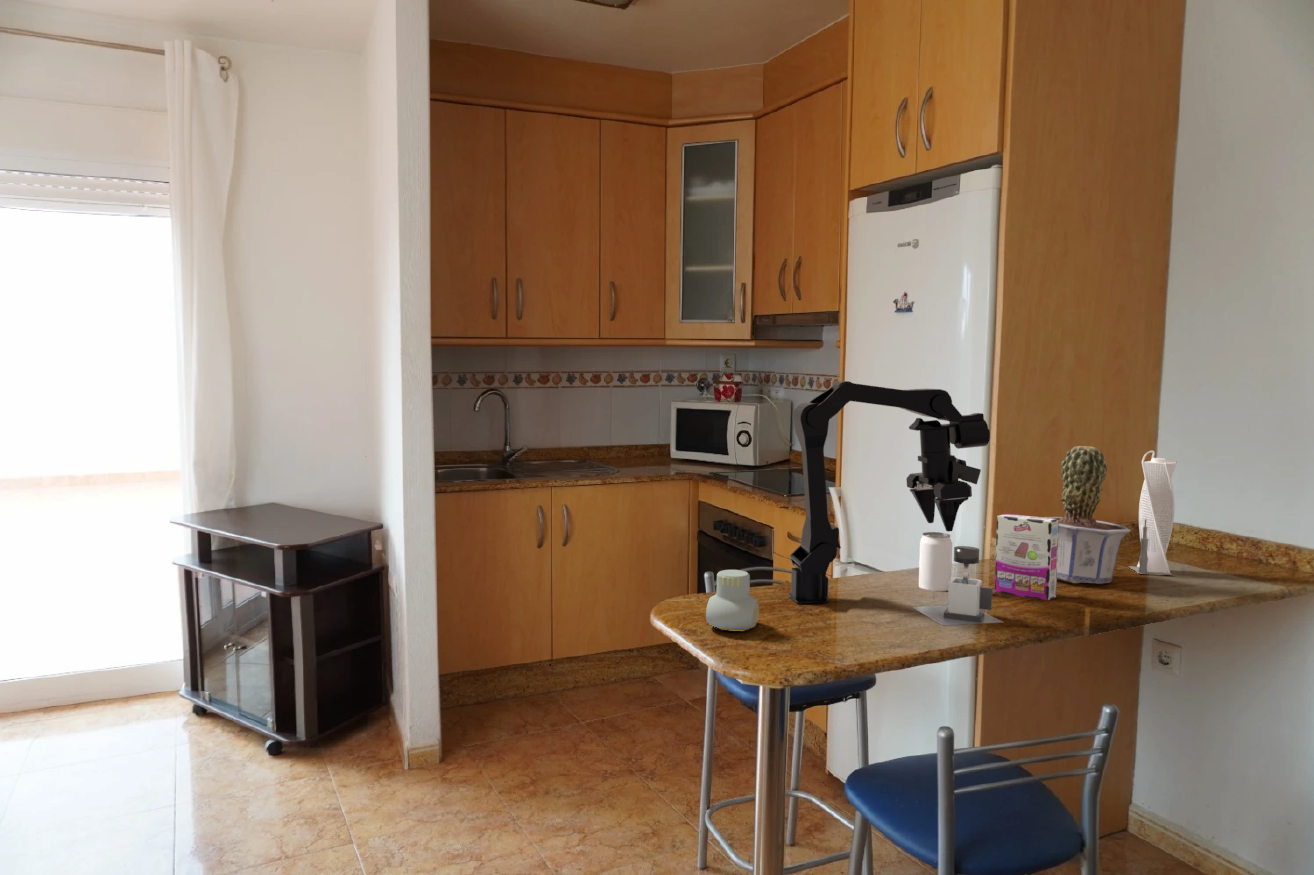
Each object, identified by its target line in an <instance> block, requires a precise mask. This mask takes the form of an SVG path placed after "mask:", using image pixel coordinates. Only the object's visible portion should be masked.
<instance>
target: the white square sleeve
mask: <svg viewBox="0 0 1314 875" xmlns="http://www.w3.org/2000/svg"><path fill="white" fill-rule="evenodd" d="M993 589H994V588H993V587H991V586H990V587H989V586H983V580H982V579H977V578H969V579H968V584H963V577H959V576H954V577H951V580H950V581H949V588H948V590H947V591H948V592H947V597H948V598H947V606H948V607H947V608H946V610H945V611H944V618H949V619H957V620H965V621H972V622H981V620H982V618H983V616H984V614H985V613H986V611H985V610H987V611H992V609H993Z"/></svg>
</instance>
